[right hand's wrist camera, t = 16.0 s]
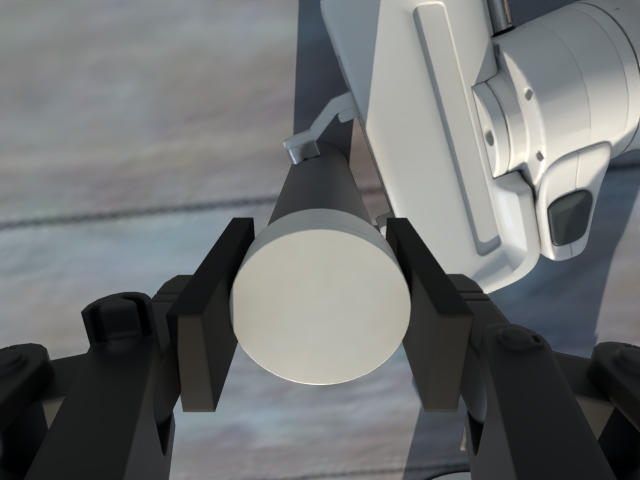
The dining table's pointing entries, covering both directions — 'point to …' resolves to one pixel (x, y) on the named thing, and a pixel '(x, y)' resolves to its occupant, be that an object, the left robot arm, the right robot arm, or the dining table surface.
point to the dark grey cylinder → (321, 186)
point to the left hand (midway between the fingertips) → (307, 196)
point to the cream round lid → (320, 298)
